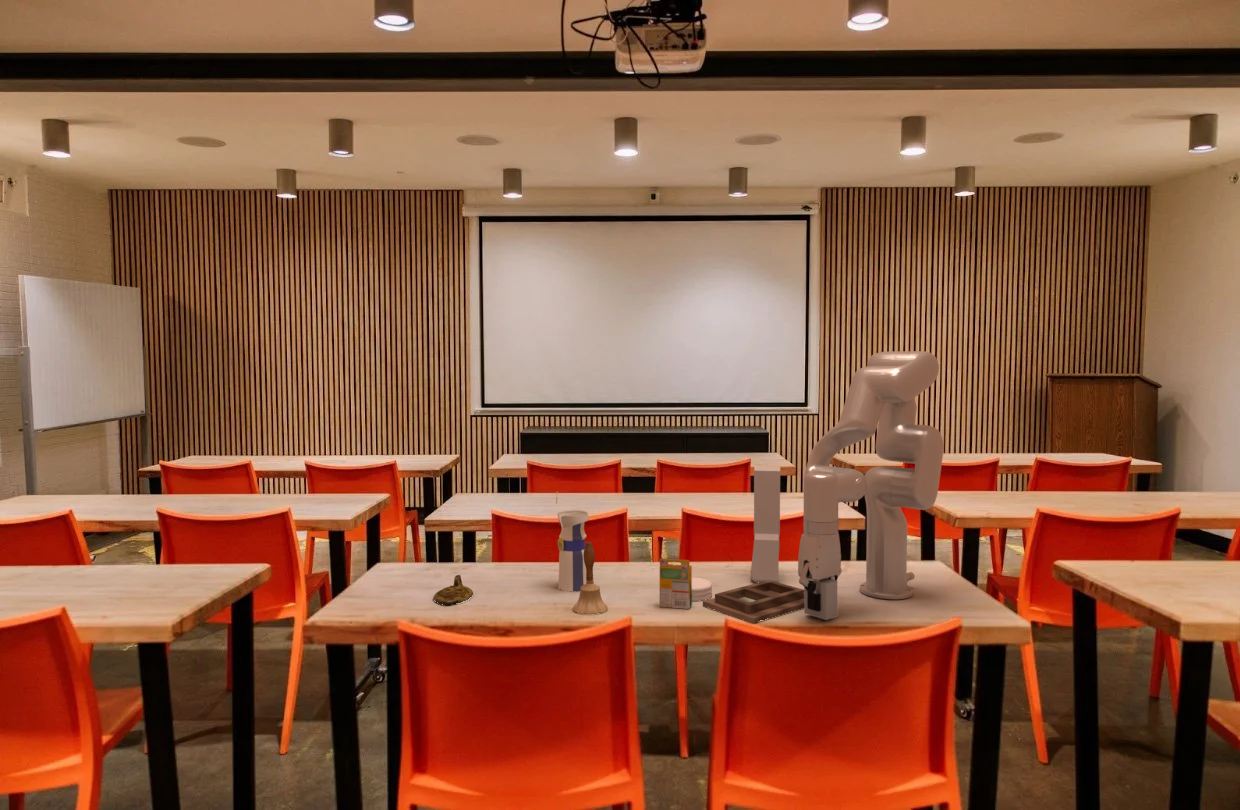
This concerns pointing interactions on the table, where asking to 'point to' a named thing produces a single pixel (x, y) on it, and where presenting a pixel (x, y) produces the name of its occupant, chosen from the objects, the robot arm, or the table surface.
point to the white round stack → (701, 589)
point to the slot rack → (758, 601)
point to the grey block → (824, 600)
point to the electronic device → (766, 524)
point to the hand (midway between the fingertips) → (820, 606)
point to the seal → (453, 593)
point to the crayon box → (675, 584)
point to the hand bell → (589, 588)
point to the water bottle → (572, 550)
